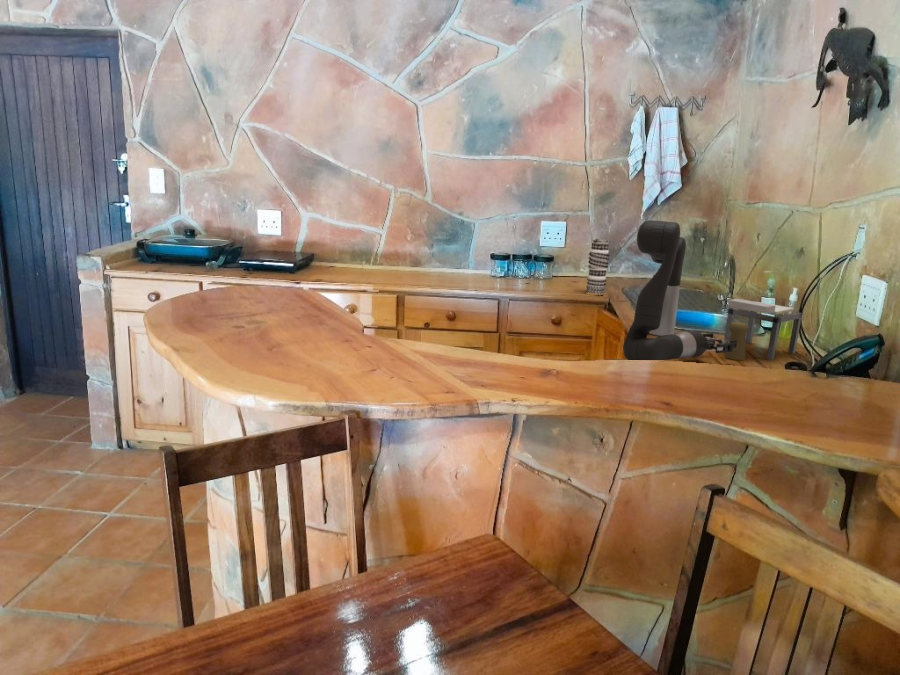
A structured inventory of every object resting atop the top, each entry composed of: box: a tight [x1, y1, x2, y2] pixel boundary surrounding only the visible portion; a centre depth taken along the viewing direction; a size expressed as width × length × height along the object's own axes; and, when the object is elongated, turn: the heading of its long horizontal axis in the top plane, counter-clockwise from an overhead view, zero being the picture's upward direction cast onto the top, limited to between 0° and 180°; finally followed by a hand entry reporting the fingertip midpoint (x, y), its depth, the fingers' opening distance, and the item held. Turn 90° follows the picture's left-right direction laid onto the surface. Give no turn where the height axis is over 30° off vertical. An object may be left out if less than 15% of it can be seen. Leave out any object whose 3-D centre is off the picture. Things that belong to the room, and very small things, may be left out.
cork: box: [723, 321, 749, 361], centre depth 195 cm, size 6×6×11 cm
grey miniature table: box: [723, 307, 803, 361], centre depth 204 cm, size 16×16×13 cm
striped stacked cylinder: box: [585, 238, 610, 294], centre depth 292 cm, size 9×9×25 cm
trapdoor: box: [727, 298, 795, 316], centre depth 200 cm, size 12×18×3 cm, turn 129°
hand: (723, 340), depth 193 cm, fingers open, 8 cm apart
